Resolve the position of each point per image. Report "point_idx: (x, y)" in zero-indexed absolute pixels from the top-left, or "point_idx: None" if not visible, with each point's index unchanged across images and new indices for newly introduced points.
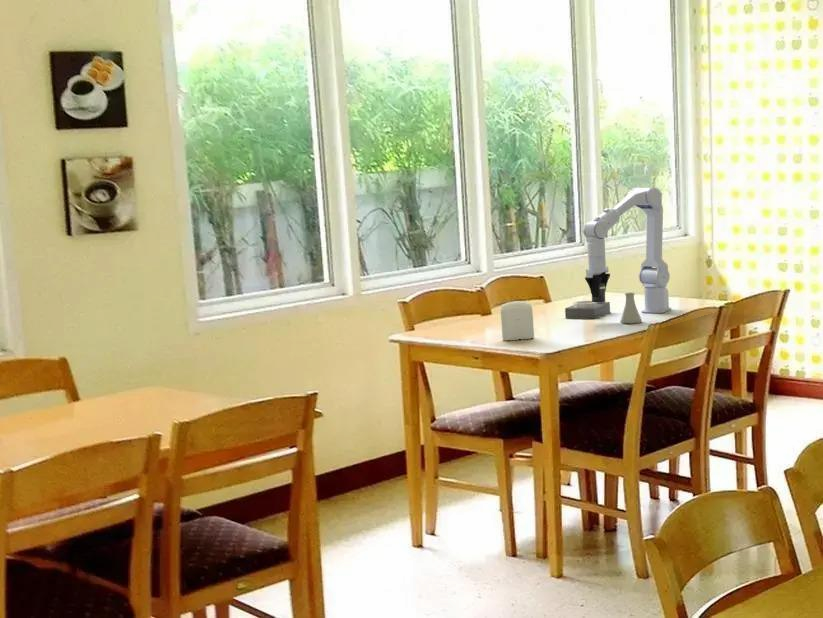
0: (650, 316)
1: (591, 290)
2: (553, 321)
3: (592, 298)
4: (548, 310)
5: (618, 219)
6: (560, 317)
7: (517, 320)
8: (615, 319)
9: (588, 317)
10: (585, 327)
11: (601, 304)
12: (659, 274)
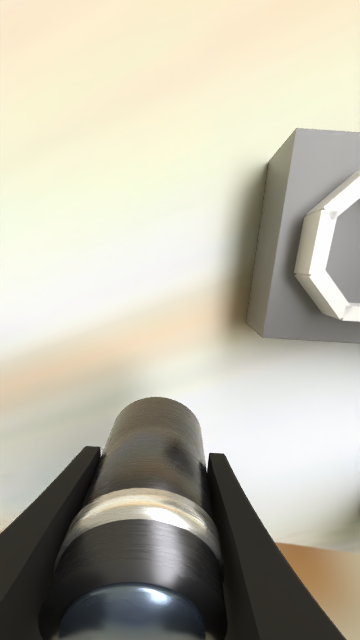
0: (297, 498)
1: (41, 505)
2: (161, 130)
3: (118, 426)
4: None
5: None
6: (297, 115)
7: None
8: (232, 409)
9: (251, 295)
10: (31, 358)
11: None
12: None
